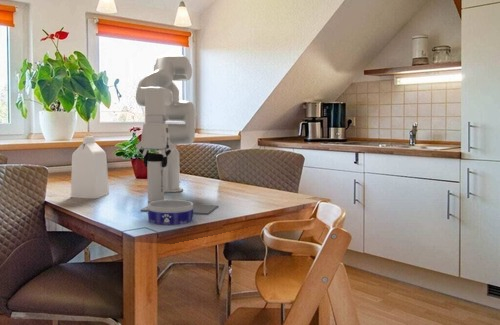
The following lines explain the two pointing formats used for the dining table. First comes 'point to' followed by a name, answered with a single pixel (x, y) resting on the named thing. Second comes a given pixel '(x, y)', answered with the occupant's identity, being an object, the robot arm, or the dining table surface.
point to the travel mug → (155, 177)
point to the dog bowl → (170, 212)
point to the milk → (89, 170)
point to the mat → (197, 209)
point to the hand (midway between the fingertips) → (155, 166)
